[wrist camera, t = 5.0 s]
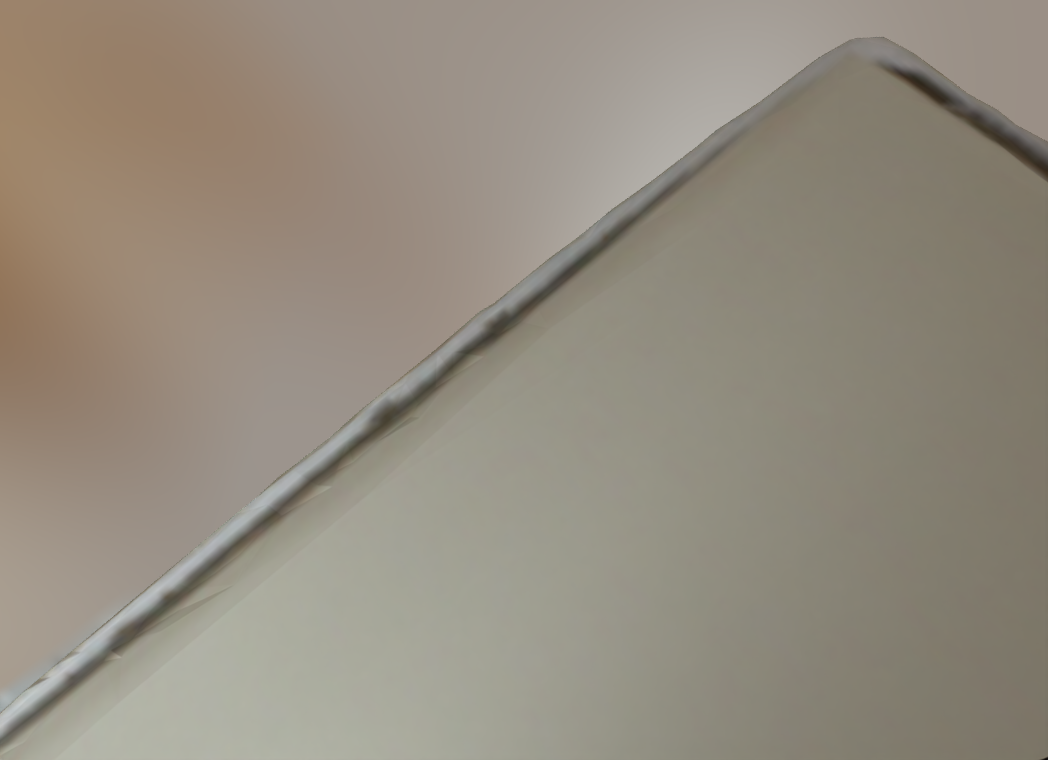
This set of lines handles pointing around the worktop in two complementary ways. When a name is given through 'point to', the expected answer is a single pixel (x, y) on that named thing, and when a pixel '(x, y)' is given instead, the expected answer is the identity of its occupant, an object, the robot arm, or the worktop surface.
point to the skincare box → (660, 486)
